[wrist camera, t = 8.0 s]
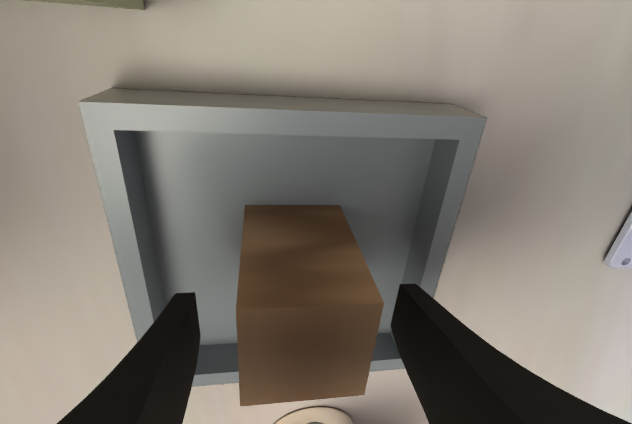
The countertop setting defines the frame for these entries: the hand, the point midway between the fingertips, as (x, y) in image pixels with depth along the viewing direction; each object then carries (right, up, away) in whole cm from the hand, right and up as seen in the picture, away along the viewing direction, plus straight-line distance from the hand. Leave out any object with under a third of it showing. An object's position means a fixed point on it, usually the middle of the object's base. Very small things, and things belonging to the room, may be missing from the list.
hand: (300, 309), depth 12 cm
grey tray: (-1, +2, +4) cm, 5 cm away
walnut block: (-1, +2, +3) cm, 4 cm away
